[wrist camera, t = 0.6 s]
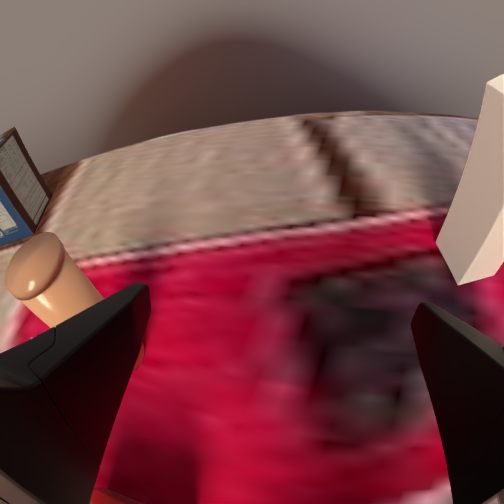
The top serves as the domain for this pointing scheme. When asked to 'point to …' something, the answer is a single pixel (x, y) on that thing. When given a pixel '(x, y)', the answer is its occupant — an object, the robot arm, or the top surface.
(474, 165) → the milk
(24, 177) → the protein box
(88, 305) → the canister
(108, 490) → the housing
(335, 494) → the top surface
